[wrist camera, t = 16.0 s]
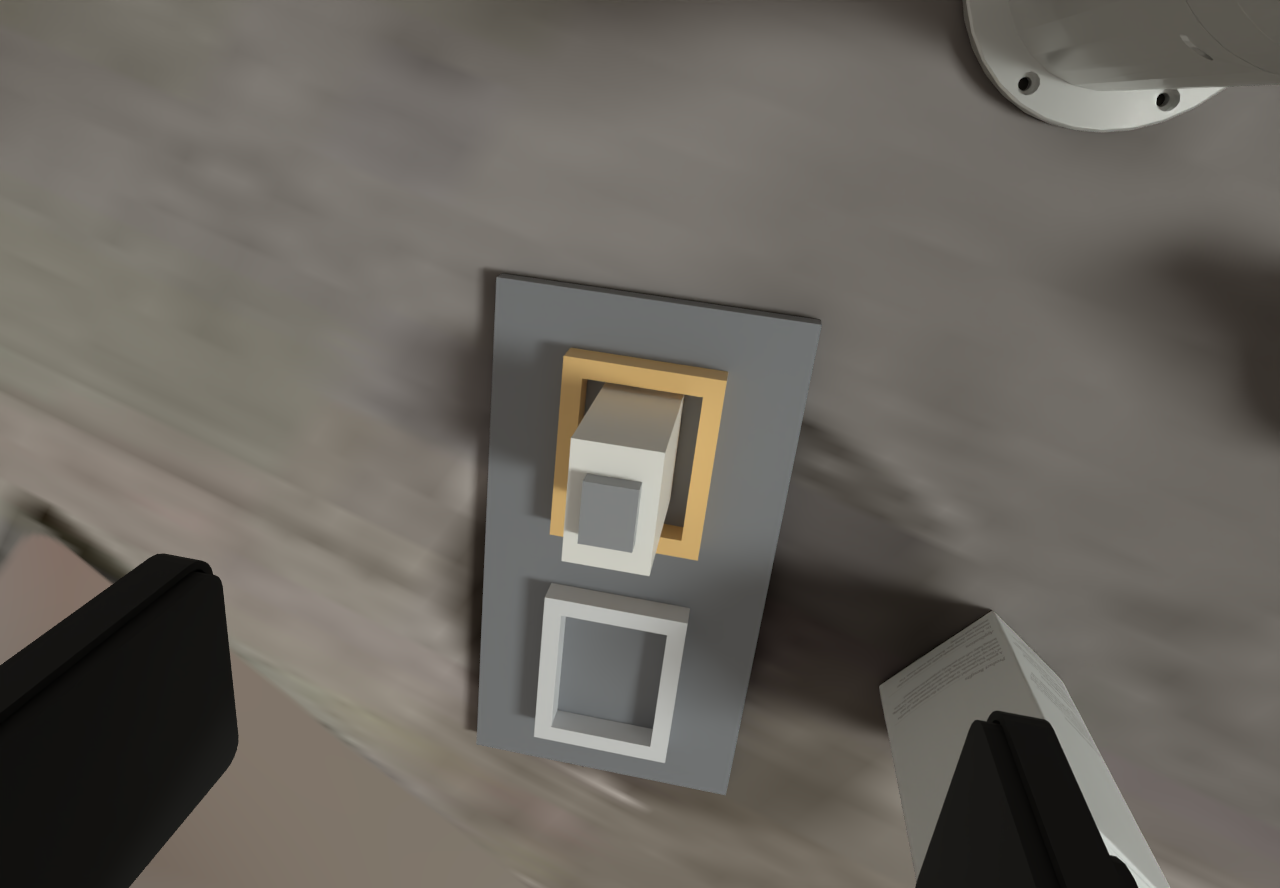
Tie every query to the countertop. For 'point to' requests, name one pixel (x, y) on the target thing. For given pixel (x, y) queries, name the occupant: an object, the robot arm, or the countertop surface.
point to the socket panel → (689, 542)
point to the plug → (621, 478)
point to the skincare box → (971, 690)
